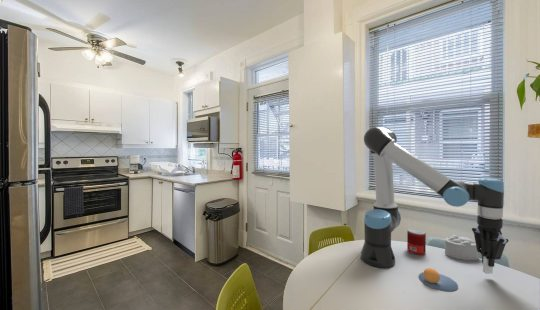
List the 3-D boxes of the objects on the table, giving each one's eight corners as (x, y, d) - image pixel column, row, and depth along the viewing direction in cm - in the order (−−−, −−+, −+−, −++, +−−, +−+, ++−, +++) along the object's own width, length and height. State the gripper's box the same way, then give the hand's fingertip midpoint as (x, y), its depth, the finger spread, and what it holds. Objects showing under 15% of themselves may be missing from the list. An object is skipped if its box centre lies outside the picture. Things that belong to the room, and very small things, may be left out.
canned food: (428, 255, 115) (428, 234, 114) (410, 254, 116) (410, 233, 116) (421, 248, 122) (421, 228, 122) (405, 247, 124) (405, 227, 123)
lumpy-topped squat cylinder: (482, 259, 110) (482, 242, 109) (454, 260, 110) (455, 242, 109) (463, 249, 120) (464, 233, 120) (438, 250, 120) (439, 234, 120)
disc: (411, 273, 100) (411, 272, 100) (440, 271, 101) (440, 271, 101) (434, 292, 87) (434, 291, 87) (467, 290, 88) (467, 289, 88)
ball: (429, 263, 96) (434, 274, 96) (417, 269, 96) (423, 280, 96) (439, 270, 90) (445, 282, 91) (428, 277, 90) (433, 288, 90)
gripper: (516, 221, 88) (513, 281, 89) (482, 211, 101) (480, 263, 102) (497, 222, 87) (495, 282, 88) (466, 212, 100) (464, 264, 101)
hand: (487, 272), depth 95 cm, fingers closed
